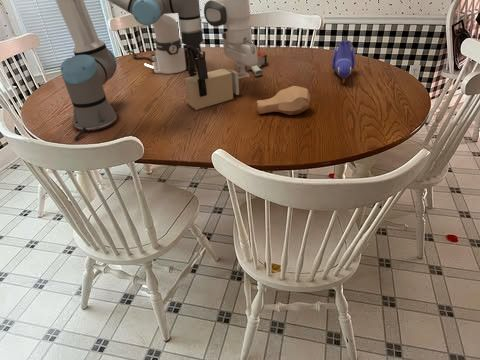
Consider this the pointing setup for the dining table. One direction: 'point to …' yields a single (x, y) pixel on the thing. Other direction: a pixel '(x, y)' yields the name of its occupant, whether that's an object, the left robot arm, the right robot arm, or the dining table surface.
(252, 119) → the dining table surface
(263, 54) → the grey and red gadget
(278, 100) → the squash
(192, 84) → the beige rectangular block
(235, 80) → the drawer
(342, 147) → the dining table surface
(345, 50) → the toy
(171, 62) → the right robot arm
